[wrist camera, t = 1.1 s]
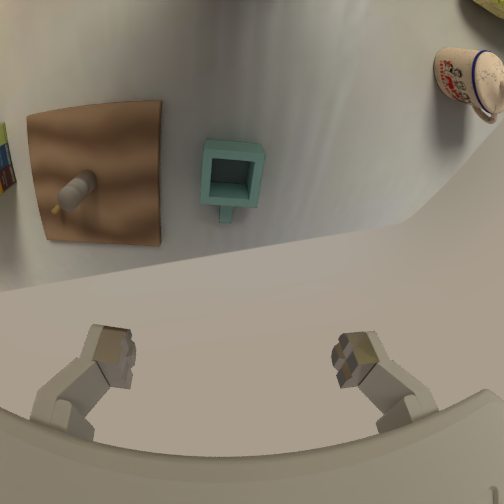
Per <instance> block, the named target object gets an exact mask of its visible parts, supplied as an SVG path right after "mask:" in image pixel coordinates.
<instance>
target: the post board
mask: <svg viewBox="0 0 504 504" xmlns="http://www.w3.org/2000/svg"><path fill="white" fill-rule="evenodd" d="M161 110H162V101H131V102H115V103H103V104H93V105H85V106H77V107H70V108H64V109H58V110H52V111H47V112H42V113H37V114H33V115H29V116H27V133H28V144H29V154H30V162H31V169H32V175H33V181H34V187H35V192H36V197H37V202H38V207H39V211H40V215H41V220H42V224H43V227H44V231H45V235H46V238H47V240H59V241H77V242H94V243H111V244H128V245H145V246H160V244H161V226H160V189H159V165H160V129H161Z"/></svg>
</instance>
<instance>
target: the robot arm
mask: <svg viewBox="0 0 504 504" xmlns="http://www.w3.org/2000/svg"><path fill="white" fill-rule="evenodd" d="M131 337H132V334H131V330H130V329H123V328H116V327H109V326H104V325H97V324H93V325H92V326H91V327H90V330H89V332H88V335H87V338H86V341H85V344H84V346H83V350H82V352H81V356H80V358H75V359H74V360H73V361H72V362H71V363H69V364H68V365H67V366H66V367H65V368H64V369H63V370H61V371H60V372H59V373H58V374H56V375H55V376H54V377H53V378H52V379H51V380H50V381H48V382H47V383H46V384H45V385H44V386H43V387H41V388H40V389H39V390H38V392H37V395H36V398H35V401H34V405H33V408H32V412H31V416H30V420H27V419H25V418H23V417H20V416H18V415H16V414H14V413H12V412H9V411H7V410H5V409H3V408H1V407H0V504H504V400H502V399H501V398H500V397H499V396H498V395H496V394H495V393H494V392H492V391H490V390H488V389H483V390H481V391H479V392H477V393H475V394H474V395H472V396H470V397H468V398H466V399H464V400H462V401H460V402H458V403H457V404H454V405H452V406H450V407H448V408H446V409H444V410H441V411H439V410H438V407H437V405H436V403H435V400H434V398H433V396H432V394H431V392H430V389H429V388H428V387H427V386H425V385H424V384H423V383H422V382H420V381H419V380H418V379H416V378H415V377H414V376H413V375H411V374H410V373H409V372H407V371H406V370H405V369H404V368H402V367H401V366H400V365H398V364H397V363H396V362H394V361H393V360H390V359H389V357H388V355H387V353H386V351H385V349H384V347H383V345H382V343H381V341H380V339H379V337H378V334H377V333H376V332H375V331H367V332H354V333H343V334H342V335H340V337H339V343H338V344H337V345H335V346H334V348H333V350H332V355H331V358H332V363H333V367H334V368H336V369H337V370H338V373H337V375H336V376H337V379H338V382H339V385H340V388H348V387H356V386H358V388H359V389H360V390H361V391H362V392H363V393H364V394H365V395H366V396H367V397H368V398H369V399H370V400H371V401H372V403H373V404H374V405H375V406H376V407H377V408H378V409H379V410H380V411H381V412H382V413H383V414H384V415H383V416H382V417H381V418H380V419H379V420H377V422H376V426H377V429H378V432H379V434H377V435H373V436H370V437H366V438H363V439H359V440H355V441H351V442H346V443H342V444H338V445H333V446H328V447H323V448H317V449H311V450H305V451H298V452H291V453H283V454H273V455H261V456H242V457H199V456H182V455H169V454H160V453H152V452H145V451H138V450H132V449H126V448H121V447H116V446H111V445H107V444H102V443H98V442H94V441H93V437H94V430H95V429H94V428H93V426H92V425H91V424H90V423H89V422H88V421H87V420H86V419H85V416H86V415H87V414H88V413H89V412H90V411H91V409H92V408H93V407H94V406H95V405H96V404H97V402H98V401H99V400H100V399H101V398H102V397H103V395H104V394H105V393H106V392H107V390H109V388H110V387H117V388H124V389H130V386H131V381H132V376H133V374H132V372H131V368H132V367H133V366H134V365H135V359H136V348H135V343H134V342H133V341H132V340H131ZM109 386H110V387H109Z"/></svg>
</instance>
